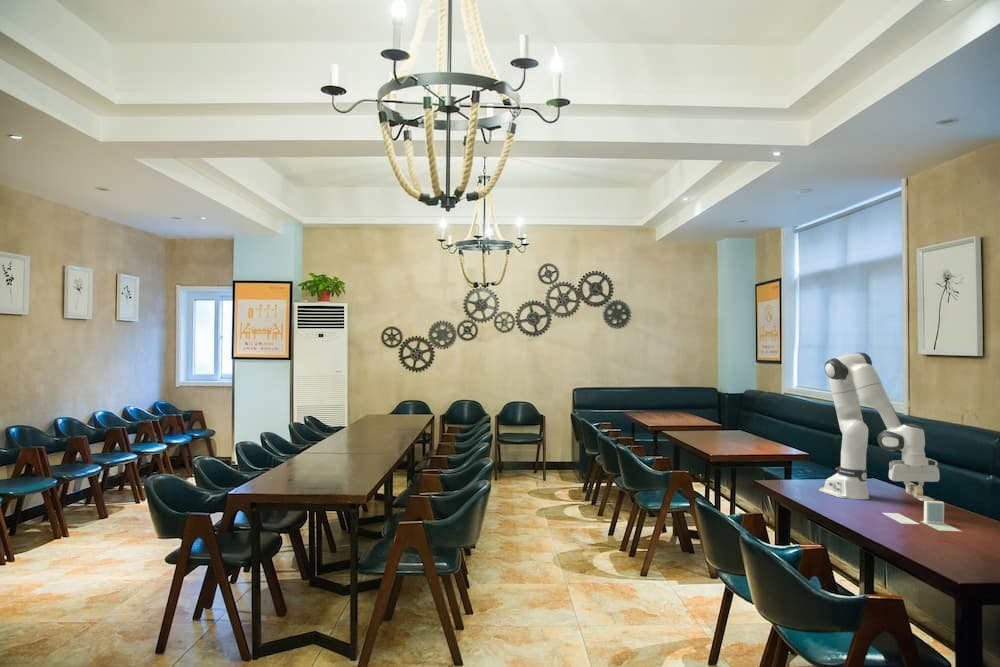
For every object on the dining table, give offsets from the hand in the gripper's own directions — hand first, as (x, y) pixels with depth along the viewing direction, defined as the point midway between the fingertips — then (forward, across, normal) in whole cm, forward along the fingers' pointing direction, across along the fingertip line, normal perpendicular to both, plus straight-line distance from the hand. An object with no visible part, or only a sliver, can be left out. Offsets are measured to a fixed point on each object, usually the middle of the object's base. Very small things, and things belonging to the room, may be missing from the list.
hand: (914, 491), depth 280 cm
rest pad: (+10, -12, -11) cm, 19 cm away
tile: (+10, 0, -15) cm, 18 cm away
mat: (+10, 0, -19) cm, 22 cm away
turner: (+2, 0, -3) cm, 3 cm away
